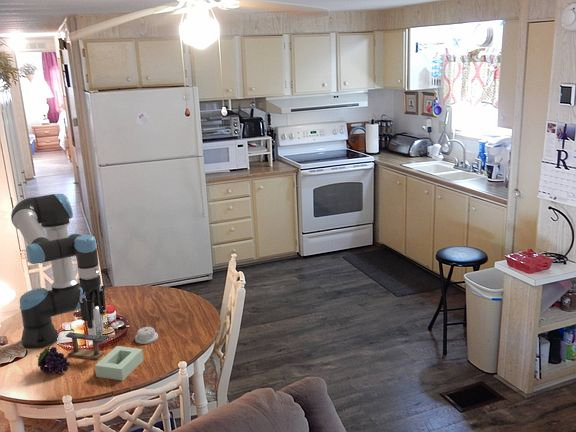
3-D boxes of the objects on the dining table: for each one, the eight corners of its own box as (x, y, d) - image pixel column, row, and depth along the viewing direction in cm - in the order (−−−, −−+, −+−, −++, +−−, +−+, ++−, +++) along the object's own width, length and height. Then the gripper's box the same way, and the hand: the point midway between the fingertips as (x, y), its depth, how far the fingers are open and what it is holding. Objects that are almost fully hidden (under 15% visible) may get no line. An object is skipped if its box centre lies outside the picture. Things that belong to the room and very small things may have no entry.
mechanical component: (131, 343, 248) (152, 345, 246) (130, 334, 247) (151, 336, 245) (141, 333, 258) (161, 334, 256) (140, 324, 256) (161, 325, 254)
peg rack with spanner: (66, 355, 239) (64, 336, 236) (74, 349, 243) (71, 331, 241) (104, 360, 234) (102, 341, 232) (111, 354, 239) (108, 335, 236)
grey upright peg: (89, 337, 217) (85, 308, 214) (95, 332, 221) (92, 304, 218) (98, 338, 216) (94, 309, 213) (104, 333, 220) (100, 305, 217)
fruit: (62, 383, 224) (27, 372, 225) (76, 366, 233) (42, 355, 234) (62, 364, 219) (27, 353, 220) (76, 347, 228) (42, 337, 229)
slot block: (96, 376, 222) (94, 365, 221) (118, 356, 237) (117, 345, 236) (123, 380, 219) (121, 369, 218) (143, 359, 234) (142, 349, 233)
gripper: (83, 285, 203) (91, 343, 209) (111, 269, 219) (117, 323, 225) (66, 283, 205) (74, 341, 212) (95, 267, 221) (101, 321, 227)
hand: (96, 332), depth 218 cm, fingers closed on grey upright peg, 4 cm apart
